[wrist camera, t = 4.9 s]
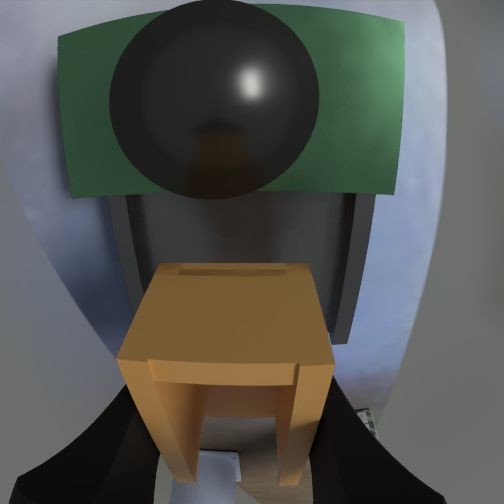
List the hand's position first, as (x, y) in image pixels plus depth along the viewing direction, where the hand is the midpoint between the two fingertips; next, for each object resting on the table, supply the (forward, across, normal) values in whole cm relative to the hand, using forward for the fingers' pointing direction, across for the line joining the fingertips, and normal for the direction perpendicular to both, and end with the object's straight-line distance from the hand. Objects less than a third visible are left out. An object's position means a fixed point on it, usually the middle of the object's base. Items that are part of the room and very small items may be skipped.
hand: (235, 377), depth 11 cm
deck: (+9, +1, -4) cm, 9 cm away
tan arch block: (+2, 0, 0) cm, 2 cm away
